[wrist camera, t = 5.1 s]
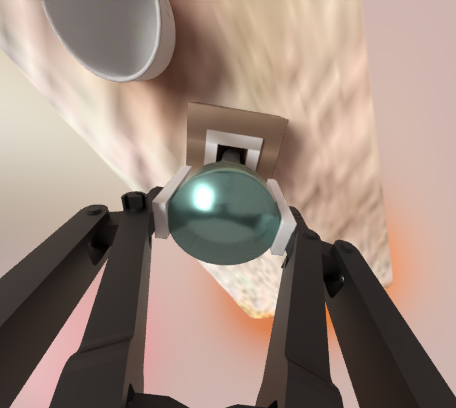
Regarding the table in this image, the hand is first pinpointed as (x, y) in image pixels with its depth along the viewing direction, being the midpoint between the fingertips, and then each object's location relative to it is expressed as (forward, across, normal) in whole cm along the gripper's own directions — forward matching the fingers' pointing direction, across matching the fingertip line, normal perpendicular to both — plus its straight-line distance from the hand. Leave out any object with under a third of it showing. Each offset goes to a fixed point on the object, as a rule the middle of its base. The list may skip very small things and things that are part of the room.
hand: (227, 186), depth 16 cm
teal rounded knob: (+9, 0, 0) cm, 9 cm away
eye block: (+14, 0, 0) cm, 14 cm away
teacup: (+15, -15, +13) cm, 25 cm away
